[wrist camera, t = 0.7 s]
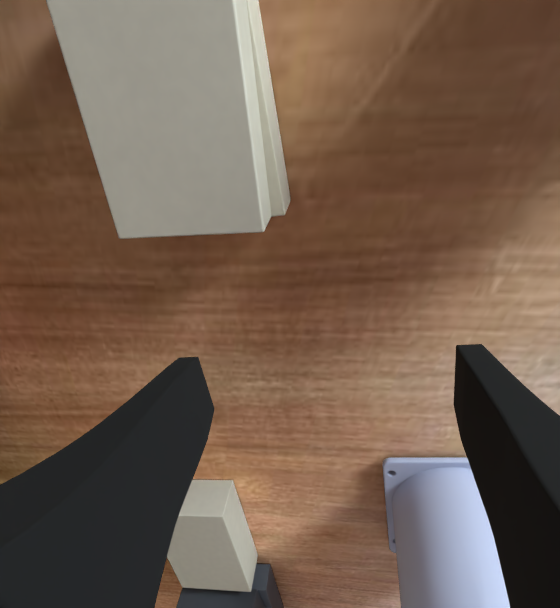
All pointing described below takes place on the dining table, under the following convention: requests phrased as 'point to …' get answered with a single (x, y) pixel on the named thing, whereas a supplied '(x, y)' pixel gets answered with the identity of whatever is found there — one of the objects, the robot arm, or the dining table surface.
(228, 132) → the white books
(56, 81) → the dining table surface
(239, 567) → the white book
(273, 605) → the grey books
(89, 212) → the dining table surface
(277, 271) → the dining table surface
